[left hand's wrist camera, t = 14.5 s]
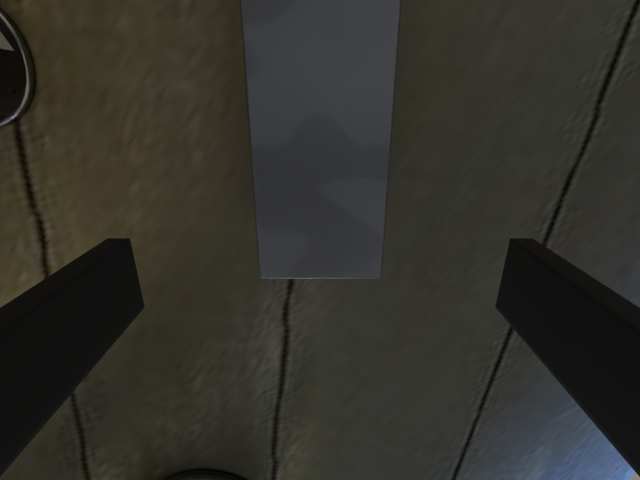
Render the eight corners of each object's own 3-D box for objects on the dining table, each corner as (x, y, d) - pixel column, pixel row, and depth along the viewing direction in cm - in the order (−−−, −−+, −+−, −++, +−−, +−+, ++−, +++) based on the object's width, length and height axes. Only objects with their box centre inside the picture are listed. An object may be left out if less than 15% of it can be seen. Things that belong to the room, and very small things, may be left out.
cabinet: (268, -38, 23) (229, -145, 13) (372, -38, 23) (412, -145, 13) (279, 218, 30) (259, 279, 20) (360, 219, 30) (381, 279, 20)
